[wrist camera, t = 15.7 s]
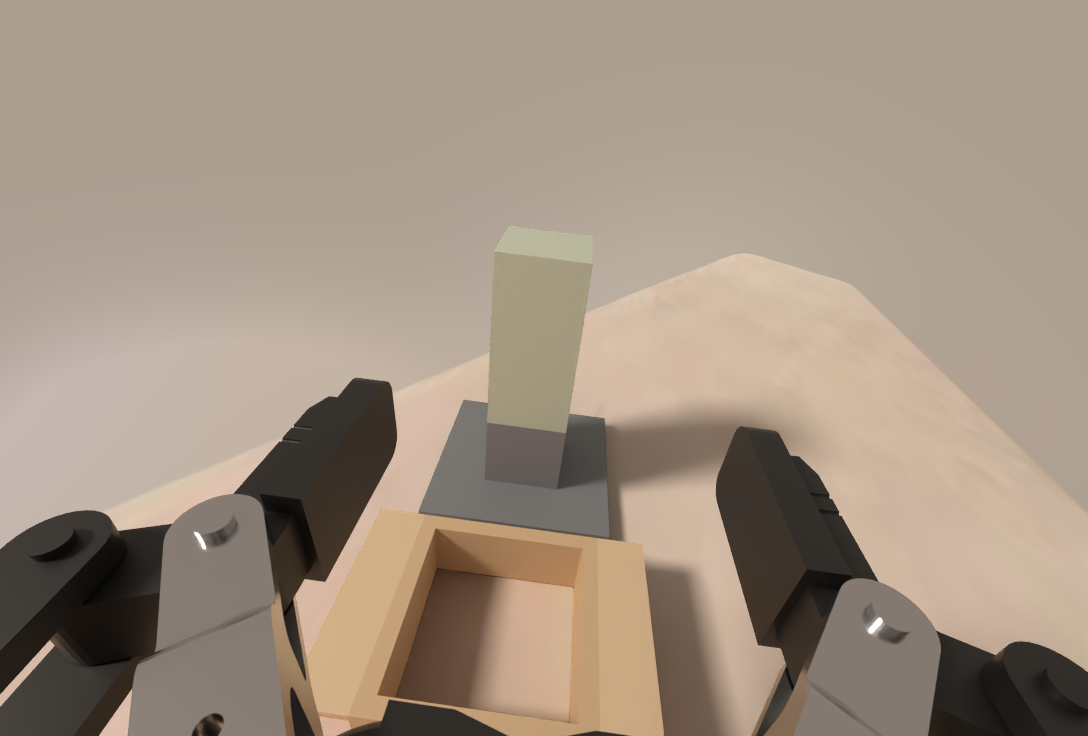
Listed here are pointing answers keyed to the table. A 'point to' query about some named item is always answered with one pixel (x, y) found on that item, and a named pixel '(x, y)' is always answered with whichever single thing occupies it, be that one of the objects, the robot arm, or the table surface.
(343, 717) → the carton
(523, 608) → the table surface
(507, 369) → the box
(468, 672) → the table surface
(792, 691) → the robot arm
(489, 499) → the slate mat
